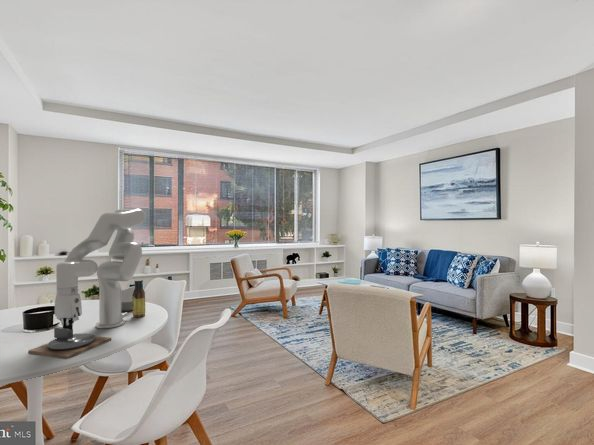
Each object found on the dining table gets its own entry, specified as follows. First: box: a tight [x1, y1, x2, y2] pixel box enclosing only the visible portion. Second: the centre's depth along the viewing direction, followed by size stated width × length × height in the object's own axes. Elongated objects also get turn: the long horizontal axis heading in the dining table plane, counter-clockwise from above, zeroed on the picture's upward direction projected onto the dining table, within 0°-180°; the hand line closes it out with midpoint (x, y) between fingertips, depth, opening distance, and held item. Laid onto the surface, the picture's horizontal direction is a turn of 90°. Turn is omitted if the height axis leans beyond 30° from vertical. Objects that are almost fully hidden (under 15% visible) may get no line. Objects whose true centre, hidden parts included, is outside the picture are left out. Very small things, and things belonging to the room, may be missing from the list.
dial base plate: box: [27, 335, 112, 359], centre depth 135 cm, size 20×20×1 cm
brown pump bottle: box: [132, 279, 146, 318], centre depth 178 cm, size 6×6×20 cm
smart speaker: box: [121, 285, 135, 312], centre depth 190 cm, size 10×9×14 cm
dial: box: [47, 326, 96, 351], centre depth 135 cm, size 18×16×5 cm
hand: (67, 333), depth 140 cm, fingers closed
